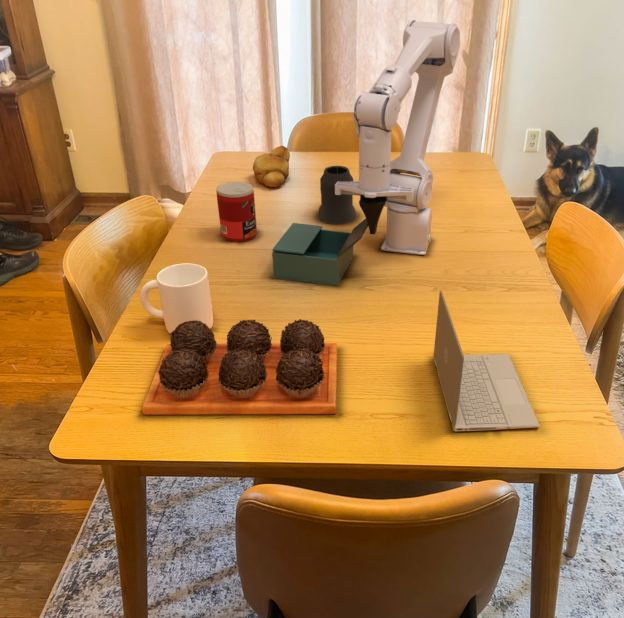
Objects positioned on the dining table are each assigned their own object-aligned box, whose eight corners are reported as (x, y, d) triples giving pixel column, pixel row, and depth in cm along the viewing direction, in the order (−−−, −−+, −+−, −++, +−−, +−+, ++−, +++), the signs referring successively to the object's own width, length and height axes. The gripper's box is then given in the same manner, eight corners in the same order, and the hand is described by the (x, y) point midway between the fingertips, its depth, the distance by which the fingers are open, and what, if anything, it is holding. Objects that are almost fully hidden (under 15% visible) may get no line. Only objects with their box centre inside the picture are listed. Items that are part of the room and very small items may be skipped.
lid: (353, 229, 137) (354, 230, 137) (336, 256, 126) (338, 257, 126) (374, 210, 133) (376, 211, 133) (360, 236, 123) (361, 238, 123)
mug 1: (138, 337, 114) (127, 284, 109) (153, 312, 121) (144, 261, 115) (207, 340, 114) (199, 287, 108) (219, 315, 120) (212, 264, 115)
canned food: (251, 244, 145) (246, 195, 139) (215, 241, 146) (210, 192, 140) (261, 229, 151) (258, 182, 145) (228, 226, 153) (223, 180, 146)
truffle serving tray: (336, 350, 111) (336, 307, 107) (336, 415, 98) (335, 368, 93) (167, 351, 111) (159, 307, 106) (143, 415, 97) (133, 368, 93)
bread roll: (288, 190, 171) (286, 159, 166) (250, 190, 171) (247, 159, 166) (291, 172, 182) (290, 143, 177) (255, 172, 181) (253, 143, 177)
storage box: (353, 256, 140) (353, 229, 137) (337, 285, 130) (337, 256, 126) (293, 250, 143) (292, 222, 139) (273, 278, 132) (271, 249, 129)
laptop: (539, 430, 95) (556, 354, 88) (452, 433, 94) (461, 357, 87) (508, 357, 110) (520, 287, 103) (432, 359, 109) (438, 289, 102)
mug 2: (355, 224, 154) (356, 177, 147) (316, 223, 154) (314, 176, 148) (357, 204, 164) (357, 159, 157) (320, 204, 164) (319, 158, 158)
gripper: (330, 166, 119) (331, 237, 127) (410, 173, 117) (406, 245, 124) (340, 154, 125) (340, 222, 133) (417, 160, 122) (412, 230, 130)
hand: (373, 232), depth 129 cm, fingers closed, pressing on lid
